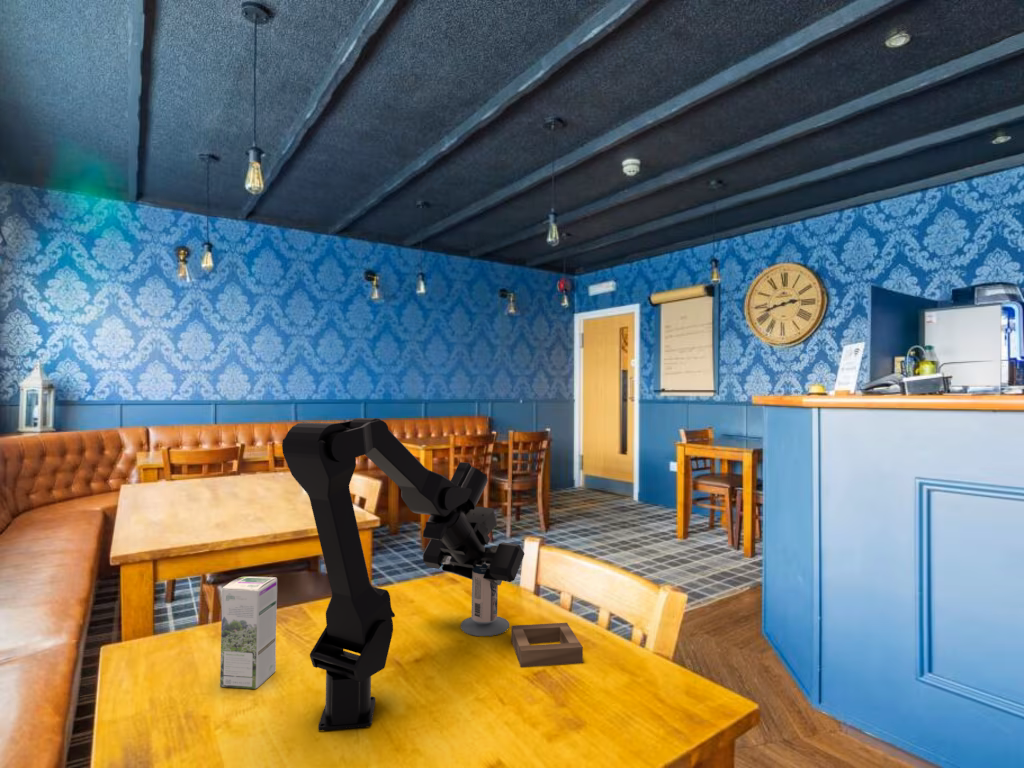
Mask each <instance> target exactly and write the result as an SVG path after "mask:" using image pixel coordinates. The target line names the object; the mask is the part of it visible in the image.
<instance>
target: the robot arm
mask: <svg viewBox="0 0 1024 768" xmlns="http://www.w3.org/2000/svg"><path fill="white" fill-rule="evenodd" d="M281 448H282V455H283V457H284V460H285V462H286V465H287V467H288V469H289V471H290V473H291V476H292V477H293V478H294V480H295V481H296V482H297V483H298V485H299V486H300V487H301V488H302V489H303V490H304V491H305V493H306V494H307V496H308V498H309V502H310V506H311V510H312V514H313V519H314V523H315V527H316V531H317V535H318V539H319V544H320V548H321V553H322V556H323V561H324V565H325V568H326V574H327V577H328V582H329V587H330V591H331V597H330V600H329V603H328V605H327V608H326V609H325V621H326V626H325V628H323V629H324V630H323V631H322V633H321V635H320V636H319V638H318V639H317V641H316V642H315V644H314V646H313V648H312V649H311V651H310V653H309V658H310V660H311V663H312V668H316V669H317V668H319V669H321V670H325V705H324V708H323V710H322V714H321V717H320V719H319V722H318V726H317V727H318V728H317V729H318V730H319V731H331V730H334V731H335V730H343V729H344V730H345V729H354V728H356V729H357V728H367V727H368V728H369V727H370V726H372V723H373V717H374V712H375V705H376V697H375V696H371V695H372V694H371V691H372V689H371V688H372V676H374V675H376V674H377V673H379V672H380V671H382V670H384V669H385V668H386V664H387V660H388V655H389V650H390V646H391V642H392V637H393V632H394V622H393V618H395V617H396V614H395V612H394V611H393V608H392V603H391V595H390V593H389V590H388V589H383V588H381V587H380V588H379V587H375V586H373V585H372V584H371V581H370V577H369V572H368V567H367V562H366V558H365V553H364V550H363V544H362V541H361V536H360V532H359V531H360V530H359V526H358V522H357V518H356V513H355V509H354V504H353V499H352V495H351V490H350V489H351V488H350V484H351V481H352V478H353V476H354V472H355V470H356V467H357V461H356V460H357V459H356V458H358V457H361V456H365V457H367V458H368V459H369V460H370V461H371V462H372V463H373V464H374V465H375V466H376V467H377V468H378V469H380V471H382V472H383V473H384V475H386V476H387V477H388V478H389V479H390V480H391V481H393V483H394V484H395V485H396V486H398V488H399V489H400V490H401V492H400V493H401V495H400V496H401V498H402V500H403V502H404V503H405V505H406V506H407V508H408V509H409V510H410V512H412V513H414V514H418V515H427V516H429V515H430V516H429V518H428V520H427V521H425V526H424V529H423V533H422V537H423V538H424V539H430V540H429V542H428V544H427V545H426V548H425V549H424V552H423V553H422V561H423V563H424V564H425V566H426V567H427V568H432V569H437V570H440V568H441V570H442V571H443V572H447V573H450V574H453V575H456V576H458V577H462V578H466V579H469V580H471V581H472V568H475V566H476V565H477V566H483V564H484V562H486V563H485V564H486V565H487V570H486V572H485V574H484V577H483V578H484V579H486V580H488V581H490V582H492V583H495V584H497V585H498V586H501V585H502V582H508V583H512V582H513V581H515V580H516V577H517V574H518V572H519V569H520V567H521V564H522V561H523V559H524V556H525V552H524V550H523V548H522V546H521V545H520V544H517V543H511V542H505V541H504V542H499V544H498V545H493V546H491V547H485V546H486V545H487V546H488V545H489V542H490V540H491V538H490V537H489V535H490V533H491V532H492V530H494V528H496V527H497V525H498V522H497V518H496V513H495V509H494V508H493V507H485V506H477V504H478V502H479V500H480V498H481V496H482V495H483V492H484V489H485V488H486V486H487V484H488V481H489V478H488V475H486V473H483V472H482V471H481V470H480V469H478V468H476V467H474V466H472V465H471V464H470V462H463V461H461V462H459V463H458V465H457V466H456V468H455V472H454V473H453V475H452V478H451V479H448V478H447V477H445V476H444V475H443V474H440V473H437V472H435V471H432V470H429V469H428V468H427V467H426V466H424V465H423V464H422V462H421V461H419V459H417V457H415V455H413V454H412V452H411V451H410V450H409V449H408V448H407V446H405V445H404V444H403V443H402V442H401V440H399V439H398V438H397V436H396V435H394V433H393V432H392V431H391V430H389V426H388V424H387V422H386V421H384V420H382V419H380V418H373V417H372V418H371V417H368V418H367V417H364V418H363V417H357V418H354V419H350V420H347V421H341V422H335V423H334V422H309V421H308V422H306V421H305V422H299V423H296V424H295V425H293V426H291V428H290V429H289V430H288V431H287V432H286V436H285V437H284V438H283V440H282V443H281ZM349 651H350V652H349Z"/></svg>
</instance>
